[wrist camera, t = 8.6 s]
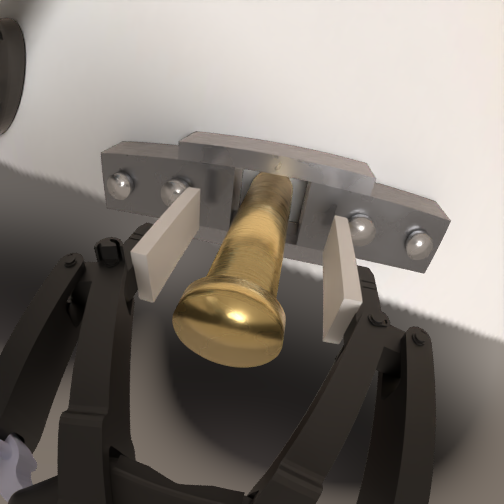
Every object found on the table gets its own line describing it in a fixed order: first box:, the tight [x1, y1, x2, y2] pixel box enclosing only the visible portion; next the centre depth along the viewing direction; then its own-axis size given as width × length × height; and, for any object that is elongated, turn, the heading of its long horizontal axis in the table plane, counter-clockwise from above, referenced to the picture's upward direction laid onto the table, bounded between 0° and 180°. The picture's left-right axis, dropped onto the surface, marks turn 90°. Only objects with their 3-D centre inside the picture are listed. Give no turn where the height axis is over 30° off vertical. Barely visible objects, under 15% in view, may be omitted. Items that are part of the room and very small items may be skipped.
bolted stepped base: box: [101, 131, 451, 273], centre depth 19 cm, size 25×7×4 cm, turn 83°
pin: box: [173, 172, 293, 367], centre depth 15 cm, size 4×4×13 cm
